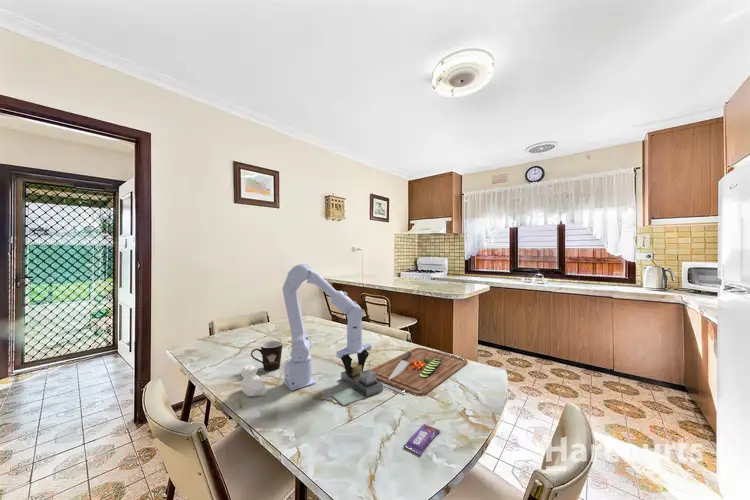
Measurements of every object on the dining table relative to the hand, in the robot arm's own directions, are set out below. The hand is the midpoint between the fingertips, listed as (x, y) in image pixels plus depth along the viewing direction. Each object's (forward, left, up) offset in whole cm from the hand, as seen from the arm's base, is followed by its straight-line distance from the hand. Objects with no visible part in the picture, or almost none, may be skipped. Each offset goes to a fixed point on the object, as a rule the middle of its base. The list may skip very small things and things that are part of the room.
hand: (354, 372), depth 107 cm
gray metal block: (0, -9, -3) cm, 9 cm away
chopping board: (+28, -7, -4) cm, 29 cm away
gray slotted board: (0, -4, -3) cm, 5 cm away
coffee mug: (-23, +31, -3) cm, 39 cm away
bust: (-34, +12, -3) cm, 36 cm away
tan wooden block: (0, 0, -3) cm, 3 cm away
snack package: (-4, -39, -4) cm, 39 cm away
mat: (-8, -9, -3) cm, 13 cm away
